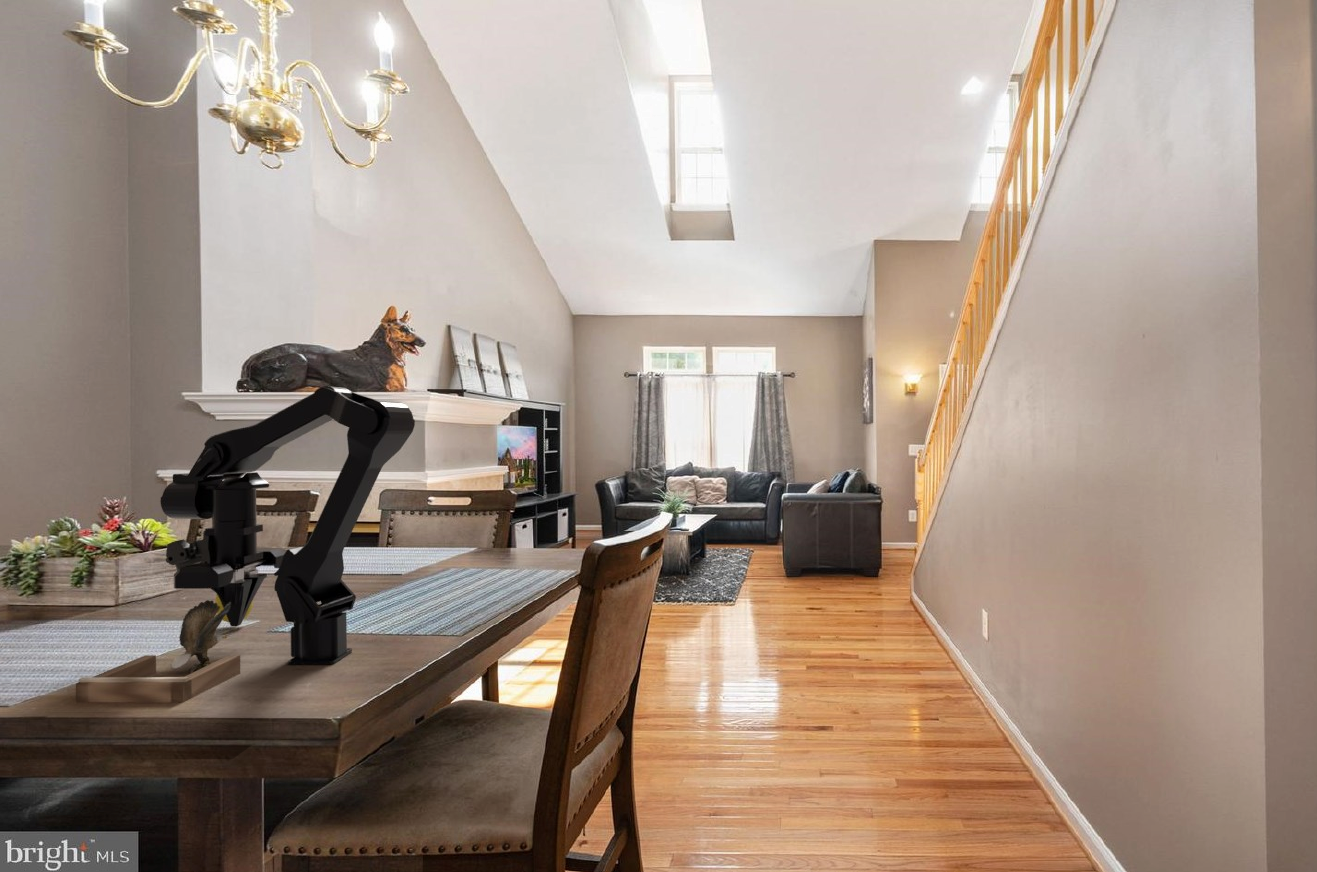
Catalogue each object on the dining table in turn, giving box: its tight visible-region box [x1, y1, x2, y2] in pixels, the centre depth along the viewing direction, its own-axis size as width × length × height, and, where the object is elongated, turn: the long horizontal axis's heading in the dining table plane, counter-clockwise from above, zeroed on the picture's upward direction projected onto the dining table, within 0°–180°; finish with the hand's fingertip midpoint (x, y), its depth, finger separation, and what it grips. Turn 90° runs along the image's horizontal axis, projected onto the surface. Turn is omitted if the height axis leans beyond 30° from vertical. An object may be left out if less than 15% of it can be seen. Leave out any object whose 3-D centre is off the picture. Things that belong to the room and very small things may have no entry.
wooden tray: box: [75, 654, 241, 703], centre depth 94 cm, size 13×12×3 cm
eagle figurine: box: [171, 600, 231, 674], centre depth 102 cm, size 8×7×9 cm
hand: (235, 625), depth 110 cm, fingers closed
